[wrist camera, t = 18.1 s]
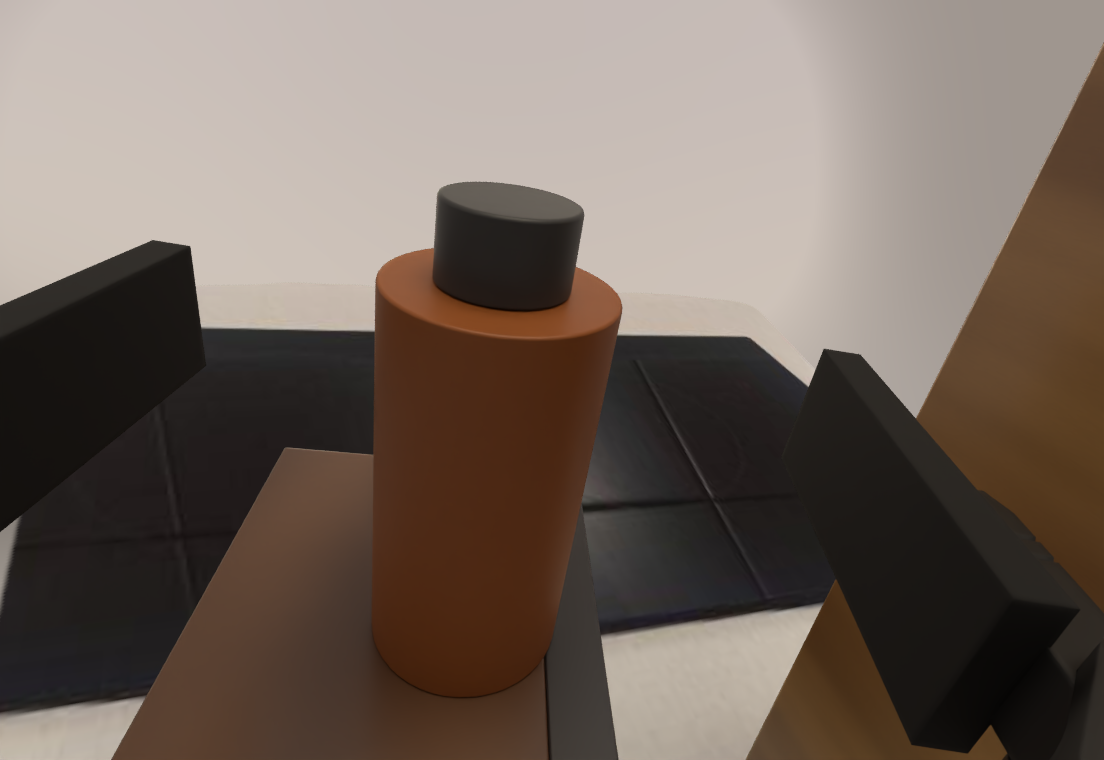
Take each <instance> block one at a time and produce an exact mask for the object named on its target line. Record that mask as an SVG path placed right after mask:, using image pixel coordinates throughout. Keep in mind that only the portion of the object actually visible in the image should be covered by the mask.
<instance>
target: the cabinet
mask: <svg viewBox="0 0 1104 760" xmlns="http://www.w3.org/2000/svg"><path fill="white" fill-rule="evenodd" d="M373 457H374V455H366V454H355V453H343V452H331V451H320V450H308V449H296V448H285V449H284V450H283V452H282V454H281V456H280V457H279V459H278V461H277V463H276V465H275V466H274V468H273V470H272V472H271V474H270V475H269V477H268V479H267V481H266V483H265V484H264V486H263V488H262V490H261V492H260V493H259V495H258V497H257V499H256V501H255V502H254V504H253V506H252V508H251V510H250V511H249V513H248V515H247V517H246V519H245V520H244V522H243V524H242V526H241V528H240V529H239V531H238V533H237V535H236V536H235V538H234V540H233V542H232V544H231V545H230V547H229V549H228V551H227V553H226V554H225V556H224V558H223V560H222V562H221V563H220V565H219V567H218V569H217V571H216V572H215V574H214V576H213V578H212V580H211V581H210V583H209V585H208V587H207V589H206V590H205V592H204V594H203V596H202V598H201V599H200V601H199V603H198V605H197V607H196V608H195V610H194V612H193V614H192V616H191V617H190V619H189V621H188V623H187V624H186V626H185V628H184V630H183V632H182V633H181V635H180V637H179V639H178V641H177V642H176V644H175V646H174V648H173V650H172V651H171V653H170V655H169V657H168V659H167V660H166V662H165V664H164V666H163V668H162V669H161V671H160V673H159V675H158V677H157V678H156V680H155V682H154V684H153V686H152V687H151V689H150V691H149V693H148V695H147V696H146V698H145V700H144V702H143V704H142V705H141V707H140V709H139V711H138V712H137V714H136V716H135V718H134V720H133V721H132V723H131V725H130V727H129V729H128V730H127V732H126V734H125V736H124V738H123V739H122V741H121V743H120V745H119V747H118V748H117V750H116V752H115V754H114V756H113V757H112V759H111V760H618V753H617V746H616V739H615V732H614V725H613V718H612V711H611V704H610V697H609V690H608V683H607V676H606V670H605V663H604V656H603V649H602V642H601V635H600V628H599V621H598V614H597V607H596V600H595V593H594V586H593V579H592V572H591V565H590V558H589V551H588V545H587V538H586V531H585V524H584V517H583V510H582V503H581V506H580V510H579V515H578V520H577V524H576V529H575V534H574V538H573V543H572V548H571V552H570V557H569V562H568V566H567V571H566V576H565V580H564V585H563V590H562V594H561V599H560V604H559V608H558V613H557V618H556V622H555V627H554V632H553V636H552V640H551V643H550V646H549V648H548V650H547V652H546V654H545V656H544V657H543V659H542V660H541V661H540V663H539V664H538V665H537V666H536V667H535V668H534V669H533V670H532V672H531V673H529V674H528V675H527V676H526V677H524V678H523V679H522V680H520V681H519V682H517V683H515V684H514V685H512V686H510V687H508V688H506V689H503V690H501V691H498V692H495V693H492V694H488V695H483V696H477V697H460V698H459V697H448V696H442V695H438V694H433V693H430V692H427V691H424V690H422V689H419V688H417V687H415V686H413V685H411V684H409V683H408V682H407V681H405V680H404V679H402V678H401V677H399V676H398V675H397V674H396V673H395V672H394V671H393V670H392V669H391V668H390V667H389V666H388V665H387V663H386V662H385V661H384V660H383V658H382V656H381V655H380V653H379V651H378V649H377V647H376V644H375V641H374V638H373V633H372V542H373Z"/></svg>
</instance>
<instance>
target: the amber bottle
mask: <svg viewBox="0 0 1104 760" xmlns="http://www.w3.org/2000/svg"><path fill="white" fill-rule="evenodd" d="M583 220H584V212H583V209H582V208H581V206H579V205H578V204H576V203H575V202H573V201H571V200H569V199H567V198H565V197H563V196H560V195H557V194H554V193H551V192H547V191H543V190H539V189H535V188H530V187H525V186H519V185H512V184H504V183H493V182H462V183H455V184H450V185H447V186H444V187H442V188H441V189H440V190H439V192H438V193H437V206H436V224H435V241H434V248H431V249H425V250H420V251H414V252H411V253H407V254H404V255H401V256H398V257H396V258H394V259H392V260H390V261H388V262H387V263H386V264H385V265H384V266H382V268H381V269H380V270H379V272H378V274H377V277H376V288H375V373H374V457H373V542H372V633H373V638H374V641H375V644H376V647H377V649H378V651H379V653H380V655H381V656H382V658H383V660H384V661H385V662H386V663H387V665H388V666H389V667H390V668H391V669H392V670H393V671H394V672H395V673H396V674H397V675H398V676H399V677H401V678H402V679H404V680H405V681H407V682H408V683H409V684H411V685H413V686H415V687H417V688H419V689H422V690H424V691H427V692H430V693H433V694H438V695H442V696H448V697H459V698H460V697H477V696H483V695H488V694H492V693H495V692H498V691H501V690H503V689H506V688H508V687H510V686H512V685H514V684H515V683H517V682H519V681H520V680H522V679H523V678H524V677H526V676H527V675H528V674H529V673H531V672H532V670H533V669H534V668H535V667H536V666H537V665H538V664H539V663H540V661H541V660H542V659H543V657H544V656H545V654H546V652H547V650H548V648H549V646H550V643H551V640H552V636H553V632H554V627H555V622H556V618H557V613H558V608H559V604H560V599H561V594H562V590H563V585H564V580H565V576H566V571H567V566H568V562H569V557H570V552H571V548H572V543H573V538H574V534H575V529H576V524H577V520H578V515H579V510H580V506H581V501H582V496H583V492H584V487H585V482H586V478H587V473H588V468H589V464H590V459H591V454H592V450H593V445H594V440H595V436H596V431H597V426H598V422H599V417H600V412H601V408H602V403H603V398H604V394H605V389H606V384H607V380H608V375H609V370H610V366H611V361H612V356H613V352H614V347H615V342H616V338H617V333H618V328H619V324H620V319H621V314H622V304H621V300H620V298H619V296H618V294H617V293H616V292H615V291H614V290H613V289H612V288H611V287H610V286H609V285H608V284H607V283H605V282H604V281H602V280H601V279H599V278H598V277H596V276H594V275H592V274H590V273H588V272H586V271H584V270H582V269H580V268H577V267H576V261H577V255H578V250H579V243H580V238H581V232H582V225H583Z"/></svg>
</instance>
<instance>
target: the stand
mask: <svg viewBox="0 0 1104 760" xmlns="http://www.w3.org/2000/svg"><path fill="white" fill-rule="evenodd" d="M916 420H917V421H918V422H919V423H920V424H921V425H922V427H923V428H924V429H925V430H926V431H927V432H928V433H929V435H930V436H931V437H932V438H933V439H934V440H935V442H936V443H937V444H938V445H939V446H940V447H941V448H942V450H943V451H944V452H945V453H946V454H947V455H948V457H949V458H950V459H951V460H952V461H953V462H954V464H955V465H956V466H957V467H958V468H959V469H960V470H961V472H962V473H963V474H964V475H965V476H966V477H967V479H968V480H969V481H970V482H971V483H972V484H973V486H974V487H975V488H976V489H977V490H982V491H984V492H986V493H987V494H988V495H990V496H991V497H993V498H994V499H995V500H997V501H998V502H999V503H1001V504H1002V505H1004V506H1005V507H1006V508H1008V509H1009V510H1010V511H1012V512H1013V513H1014V514H1015V515H1016V516H1017V517H1018V518H1019V519H1020V520H1021V521H1022V523H1023V524H1024V525H1025V526H1026V527H1027V528H1028V529H1029V530H1030V531H1031V533H1032V534H1033V535H1034V536H1035V537H1036V539H1035V541H1036V542H1040V543H1041V544H1042V545H1043V546H1044V547H1045V548H1046V549H1047V550H1048V551H1049V553H1050V554H1051V555H1052V556H1053V557H1054V562H1056V563H1059V564H1060V565H1061V566H1062V567H1063V568H1064V569H1065V570H1066V571H1067V572H1068V574H1069V575H1070V576H1071V577H1072V578H1073V579H1074V580H1075V581H1076V582H1077V584H1078V585H1079V586H1080V587H1081V588H1082V589H1083V590H1084V591H1085V592H1086V594H1087V595H1088V596H1089V597H1090V598H1091V599H1092V600H1093V601H1094V602H1095V604H1096V605H1097V606H1098V607H1099V608H1100V609H1101V610H1102V611H1103V612H1104V43H1103V45H1102V47H1101V49H1100V51H1099V53H1098V55H1097V58H1096V59H1095V61H1094V63H1093V65H1092V67H1091V69H1090V71H1089V73H1088V75H1087V77H1086V80H1085V81H1084V83H1083V85H1082V88H1081V89H1080V91H1079V93H1078V95H1077V97H1076V99H1075V101H1074V103H1073V105H1072V107H1071V109H1070V111H1069V113H1068V115H1067V118H1066V119H1065V121H1064V123H1063V125H1062V127H1061V129H1060V131H1059V133H1058V135H1057V137H1056V139H1055V141H1054V143H1053V145H1052V147H1051V149H1050V151H1049V153H1048V155H1047V158H1046V159H1045V161H1044V163H1043V165H1042V167H1041V169H1040V171H1039V173H1038V175H1037V177H1036V180H1035V181H1034V184H1033V185H1032V187H1031V189H1030V191H1029V193H1028V195H1027V197H1026V200H1025V201H1024V203H1023V206H1022V207H1021V209H1020V211H1019V214H1018V216H1017V218H1016V220H1015V221H1014V223H1013V226H1012V228H1011V229H1010V231H1009V233H1008V235H1007V238H1006V239H1005V242H1004V244H1003V246H1002V248H1001V249H1000V251H999V253H998V255H997V257H996V260H995V261H994V264H993V265H992V267H991V270H990V271H989V274H988V276H987V278H986V279H985V281H984V283H983V285H982V288H981V289H980V291H979V294H978V296H977V297H976V299H975V302H974V304H973V306H972V308H971V310H970V312H969V314H968V316H967V318H966V320H965V322H964V324H963V326H962V328H961V330H960V332H959V334H958V336H957V338H956V340H955V342H954V344H953V346H952V348H951V350H950V352H949V354H948V356H947V358H946V360H945V362H944V364H943V366H942V368H941V370H940V372H939V374H938V376H937V378H936V380H935V382H934V384H933V386H932V388H931V390H930V392H929V394H928V396H927V398H926V400H925V402H924V404H923V406H922V408H921V410H920V412H919V414H918V416H917V418H916ZM1006 754H1007V752H1006V750H1005V748H1004V747H1003V745H1002V743H1001V741H1000V740H999V738H998V736H997V735H996V733H995V731H994V729H993V728H992V726H991V725H990V726H989V727H988V729H987V730H986V731H985V732H984V734H983V735H982V736H981V738H980V739H979V740H978V741H977V743H976V744H975V745H974V746H973V748H972V749H971V750H970V752H969V753H968V754H966V753H960V752H953V751H947V750H940V749H934V748H927V747H921V746H914V745H911V743H910V741H909V739H908V736H907V734H906V732H905V730H904V727H903V725H902V723H901V721H900V719H899V716H898V714H897V712H896V710H895V708H894V705H893V703H892V701H891V699H890V697H889V694H888V692H887V690H886V688H885V686H884V683H883V681H882V679H881V677H880V674H879V672H878V670H877V668H876V666H875V663H874V661H873V659H872V657H871V655H870V652H869V650H868V648H867V646H866V644H865V641H864V639H863V637H862V635H861V632H860V630H859V628H858V626H857V624H856V621H855V619H854V617H853V615H852V613H851V610H850V608H849V606H848V604H847V602H846V599H845V597H844V595H843V593H842V590H841V588H840V586H839V584H838V582H837V579H836V580H835V582H834V584H833V586H832V588H831V590H830V592H829V594H828V596H827V598H826V600H825V602H824V604H823V606H822V608H821V610H820V612H819V614H818V616H817V618H816V620H815V622H814V624H813V626H812V628H811V630H810V632H809V634H808V636H807V638H806V640H805V642H804V644H803V646H802V648H801V650H800V652H799V654H798V656H797V658H796V660H795V662H794V664H793V666H792V668H791V670H790V672H789V674H788V676H787V678H786V680H785V682H784V684H783V686H782V688H781V690H780V692H779V694H778V696H777V698H776V700H775V702H774V704H773V706H772V708H771V710H770V712H769V714H768V716H767V718H766V720H765V722H764V724H763V726H762V728H761V730H760V732H759V734H758V736H757V738H756V740H755V742H754V744H753V746H752V748H751V750H750V752H749V754H748V756H747V758H746V760H1002V759H1003V758H1004V757H1005V755H1006Z"/></svg>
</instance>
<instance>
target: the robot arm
mask: <svg viewBox="0 0 1104 760" xmlns="http://www.w3.org/2000/svg"><path fill="white" fill-rule="evenodd" d="M205 366H206V362H205V354H204V347H203V339H202V332H201V324H200V316H199V309H198V301H197V294H196V286H195V279H194V271H193V264H192V256H191V248H190V246H186V245H179V244H173V243H166V242H161V241H155V240H152V241H150V242H147V243H145V244H143V245H141V246H138V247H136V248H133V249H131V250H129V251H126V252H124V253H122V254H120V255H117V256H115V257H112V258H110V259H108V260H105V261H103V262H101V263H98V264H96V265H94V266H92V267H89V268H87V269H84V270H82V271H80V272H77V273H75V274H73V275H70V276H68V277H66V278H63V279H61V280H59V281H56V282H54V283H52V284H49V285H47V286H45V287H42V288H40V289H38V290H35V291H33V292H31V293H28V294H26V295H24V296H21V297H19V298H17V299H14V300H12V301H10V302H7V303H5V304H3V305H0V532H1V531H2V530H3V529H4V528H6V527H7V526H8V525H9V524H11V523H12V522H13V521H14V520H16V519H17V518H18V517H19V516H21V515H22V514H23V513H24V512H25V511H27V510H28V509H29V508H30V507H32V506H33V505H34V504H35V503H37V502H38V501H39V500H40V499H42V498H43V497H44V496H45V495H47V494H48V493H49V492H50V491H51V490H53V489H54V488H55V487H56V486H58V485H59V484H60V483H61V482H63V481H64V480H65V479H66V478H68V477H69V476H70V475H71V474H73V473H74V472H75V471H76V470H77V469H79V468H80V467H81V466H82V465H84V464H85V463H86V462H87V461H89V460H90V459H91V458H92V457H94V456H95V455H96V454H97V453H99V452H100V451H101V450H102V449H103V448H105V447H106V446H107V445H108V444H110V443H111V442H112V441H113V440H115V439H116V438H117V437H118V436H120V435H121V434H122V433H123V432H125V431H126V430H127V429H128V428H129V427H131V426H132V425H133V424H134V423H136V422H137V421H138V420H139V419H141V418H142V417H143V416H144V415H146V414H147V413H148V412H149V411H150V410H152V409H153V408H154V407H155V406H157V405H158V404H159V403H160V402H162V401H163V400H164V399H165V398H167V397H168V396H169V395H170V394H172V393H173V392H174V391H175V390H176V389H178V388H179V387H180V386H181V385H183V384H184V383H185V382H186V381H188V380H189V379H190V378H191V377H193V376H194V375H195V374H196V373H198V372H199V371H200V370H201V369H202V368H204V367H205ZM781 458H782V460H783V462H784V465H785V467H786V469H787V471H788V473H789V476H790V478H791V480H792V482H793V484H794V487H795V489H796V491H797V493H798V495H799V498H800V500H801V502H802V504H803V507H804V509H805V511H806V513H807V515H808V518H809V520H810V522H811V524H812V526H813V529H814V531H815V533H816V535H817V537H818V540H819V542H820V544H821V546H822V549H823V551H824V553H825V555H826V557H827V560H828V562H829V564H830V566H831V568H832V571H833V573H834V575H835V577H836V579H837V582H838V584H839V586H840V588H841V590H842V593H843V595H844V597H845V599H846V602H847V604H848V606H849V608H850V610H851V613H852V615H853V617H854V619H855V621H856V624H857V626H858V628H859V630H860V632H861V635H862V637H863V639H864V641H865V644H866V646H867V648H868V650H869V652H870V655H871V657H872V659H873V661H874V663H875V666H876V668H877V670H878V672H879V674H880V677H881V679H882V681H883V683H884V686H885V688H886V690H887V692H888V694H889V697H890V699H891V701H892V703H893V705H894V708H895V710H896V712H897V714H898V716H899V719H900V721H901V723H902V725H903V727H904V730H905V732H906V734H907V736H908V739H909V741H910V743H911V745H914V746H921V747H927V748H934V749H940V750H947V751H953V752H960V753H966V754H968V753H969V752H970V750H971V749H972V748H973V746H974V745H975V744H976V743H977V741H978V740H979V739H980V738H981V736H982V735H983V734H984V732H985V731H986V730H987V729H988V727H989V726H990V725H991V726H992V728H993V729H994V731H995V733H996V735H997V736H998V738H999V740H1000V741H1001V743H1002V745H1003V747H1004V748H1005V750H1006V752H1007V754H1006V755H1005V757H1004V758H1003V759H1002V760H1104V612H1103V611H1102V610H1101V609H1100V608H1099V607H1098V606H1097V605H1096V604H1095V602H1094V601H1093V600H1092V599H1091V598H1090V597H1089V596H1088V595H1087V594H1086V592H1085V591H1084V590H1083V589H1082V588H1081V587H1080V586H1079V585H1078V584H1077V582H1076V581H1075V580H1074V579H1073V578H1072V577H1071V576H1070V575H1069V574H1068V572H1067V571H1066V570H1065V569H1064V568H1063V567H1062V566H1061V565H1060V564H1059V563H1056V562H1054V557H1053V556H1052V555H1051V554H1050V553H1049V551H1048V550H1047V549H1046V548H1045V547H1044V546H1043V545H1042V544H1041V543H1040V542H1036V541H1035V539H1036V537H1035V536H1034V535H1033V534H1032V533H1031V531H1030V530H1029V529H1028V528H1027V527H1026V526H1025V525H1024V524H1023V523H1022V521H1021V520H1020V519H1019V518H1018V517H1017V516H1016V515H1015V514H1014V513H1013V512H1012V511H1010V510H1009V509H1008V508H1006V507H1005V506H1004V505H1002V504H1001V503H999V502H998V501H997V500H995V499H994V498H993V497H991V496H990V495H988V494H987V493H986V492H984V491H982V490H977V489H976V488H975V487H974V486H973V484H972V483H971V482H970V481H969V480H968V479H967V477H966V476H965V475H964V474H963V473H962V472H961V470H960V469H959V468H958V467H957V466H956V465H955V464H954V462H953V461H952V460H951V459H950V458H949V457H948V455H947V454H946V453H945V452H944V451H943V450H942V448H941V447H940V446H939V445H938V444H937V443H936V442H935V440H934V439H933V438H932V437H931V436H930V435H929V433H928V432H927V431H926V430H925V429H924V428H923V427H922V425H921V424H920V423H919V422H918V421H917V420H916V418H915V417H914V416H913V415H912V414H911V413H910V412H909V411H908V409H907V408H906V407H905V406H904V405H903V403H902V402H901V401H900V400H899V399H898V398H897V397H896V395H895V394H894V393H893V392H892V391H891V390H890V388H889V387H888V386H887V385H886V384H885V383H884V381H883V380H882V379H881V378H880V377H879V376H878V374H877V373H876V372H875V371H874V370H873V369H872V368H871V366H870V365H869V364H868V363H867V362H866V361H865V359H864V358H863V357H862V356H861V355H859V354H853V353H846V352H841V351H834V350H829V349H824V350H823V352H822V355H821V357H820V360H819V363H818V365H817V368H816V370H815V373H814V375H813V378H812V380H811V383H810V385H809V388H808V390H807V393H806V396H805V398H804V401H803V403H802V406H801V408H800V411H799V413H798V416H797V418H796V421H795V424H794V426H793V429H792V431H791V434H790V436H789V439H788V441H787V444H786V446H785V449H784V452H783V454H782V457H781Z"/></svg>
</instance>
